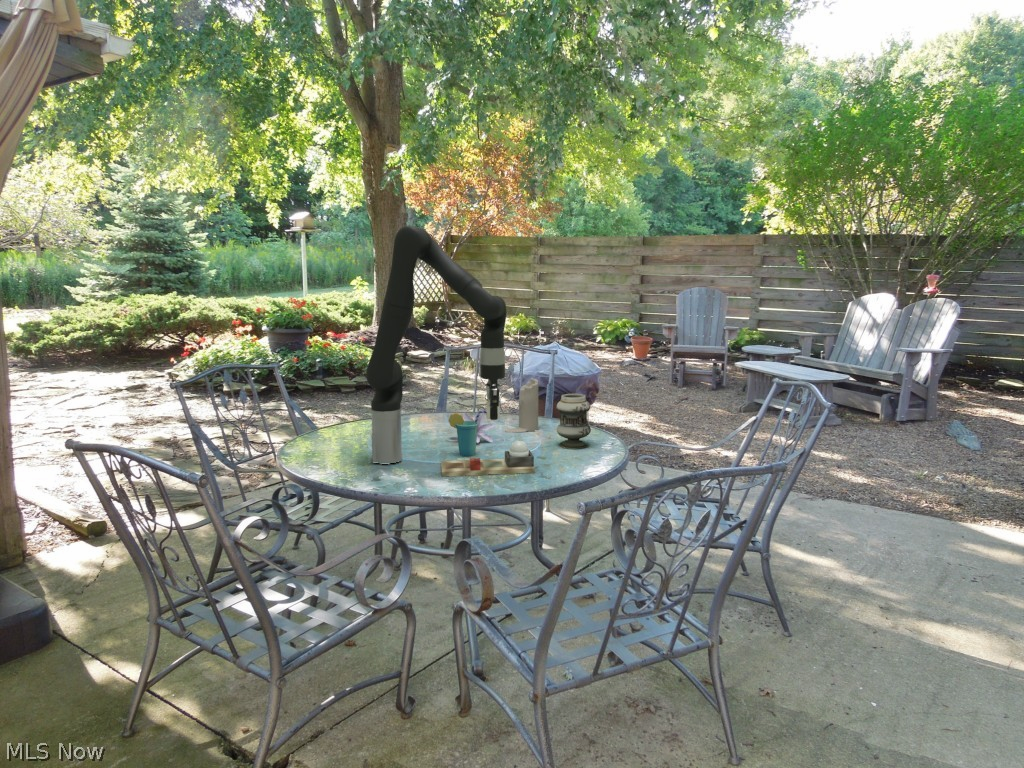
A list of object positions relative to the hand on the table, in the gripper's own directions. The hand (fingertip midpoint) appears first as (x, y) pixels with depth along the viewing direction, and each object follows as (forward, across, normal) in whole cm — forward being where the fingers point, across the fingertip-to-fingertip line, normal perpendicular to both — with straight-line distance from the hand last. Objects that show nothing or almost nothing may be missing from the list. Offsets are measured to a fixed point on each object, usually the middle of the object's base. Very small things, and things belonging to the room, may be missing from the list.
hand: (493, 417), depth 203 cm
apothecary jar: (+16, +26, -31) cm, 43 cm away
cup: (+16, +18, +6) cm, 25 cm away
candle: (+16, +52, -16) cm, 56 cm away
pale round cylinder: (+14, 0, -8) cm, 16 cm away
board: (+16, 0, +2) cm, 16 cm away
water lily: (+17, +35, +3) cm, 39 cm away
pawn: (0, 0, 0) cm, 0 cm away
